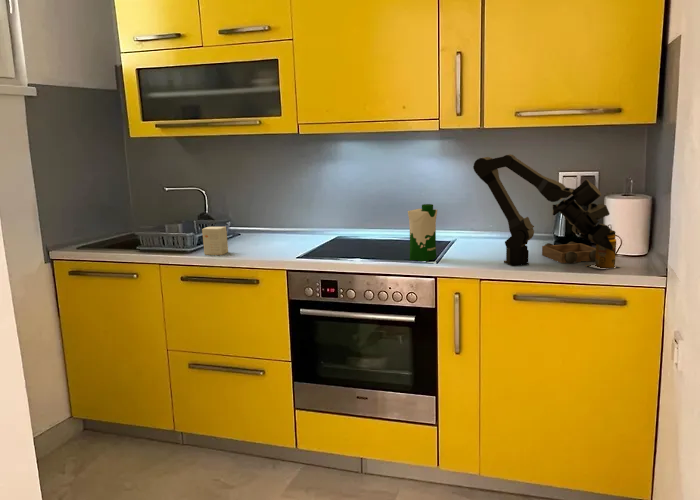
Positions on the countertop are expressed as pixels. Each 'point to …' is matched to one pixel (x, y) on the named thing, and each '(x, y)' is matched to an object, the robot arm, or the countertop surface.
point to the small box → (215, 240)
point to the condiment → (606, 253)
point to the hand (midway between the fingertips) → (607, 246)
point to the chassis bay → (569, 252)
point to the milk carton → (423, 233)
